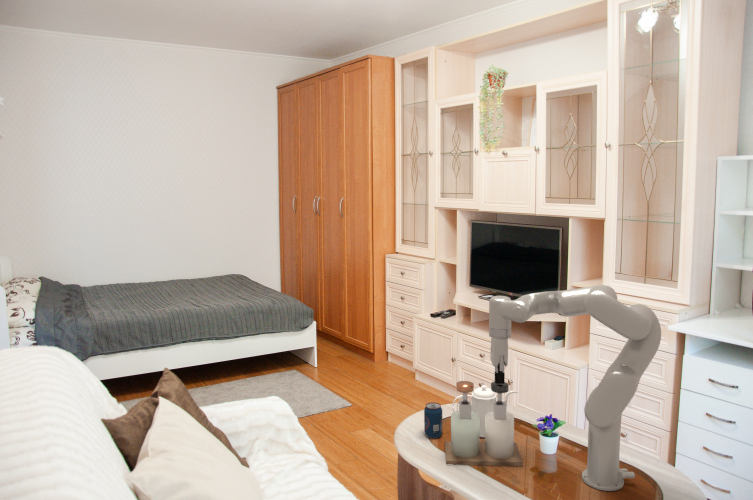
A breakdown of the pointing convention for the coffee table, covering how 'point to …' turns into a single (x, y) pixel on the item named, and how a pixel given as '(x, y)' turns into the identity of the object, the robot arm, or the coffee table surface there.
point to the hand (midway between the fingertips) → (499, 382)
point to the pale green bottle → (465, 432)
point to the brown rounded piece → (465, 389)
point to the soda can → (433, 420)
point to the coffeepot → (483, 404)
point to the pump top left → (499, 390)
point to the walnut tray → (482, 457)
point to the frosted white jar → (499, 432)
